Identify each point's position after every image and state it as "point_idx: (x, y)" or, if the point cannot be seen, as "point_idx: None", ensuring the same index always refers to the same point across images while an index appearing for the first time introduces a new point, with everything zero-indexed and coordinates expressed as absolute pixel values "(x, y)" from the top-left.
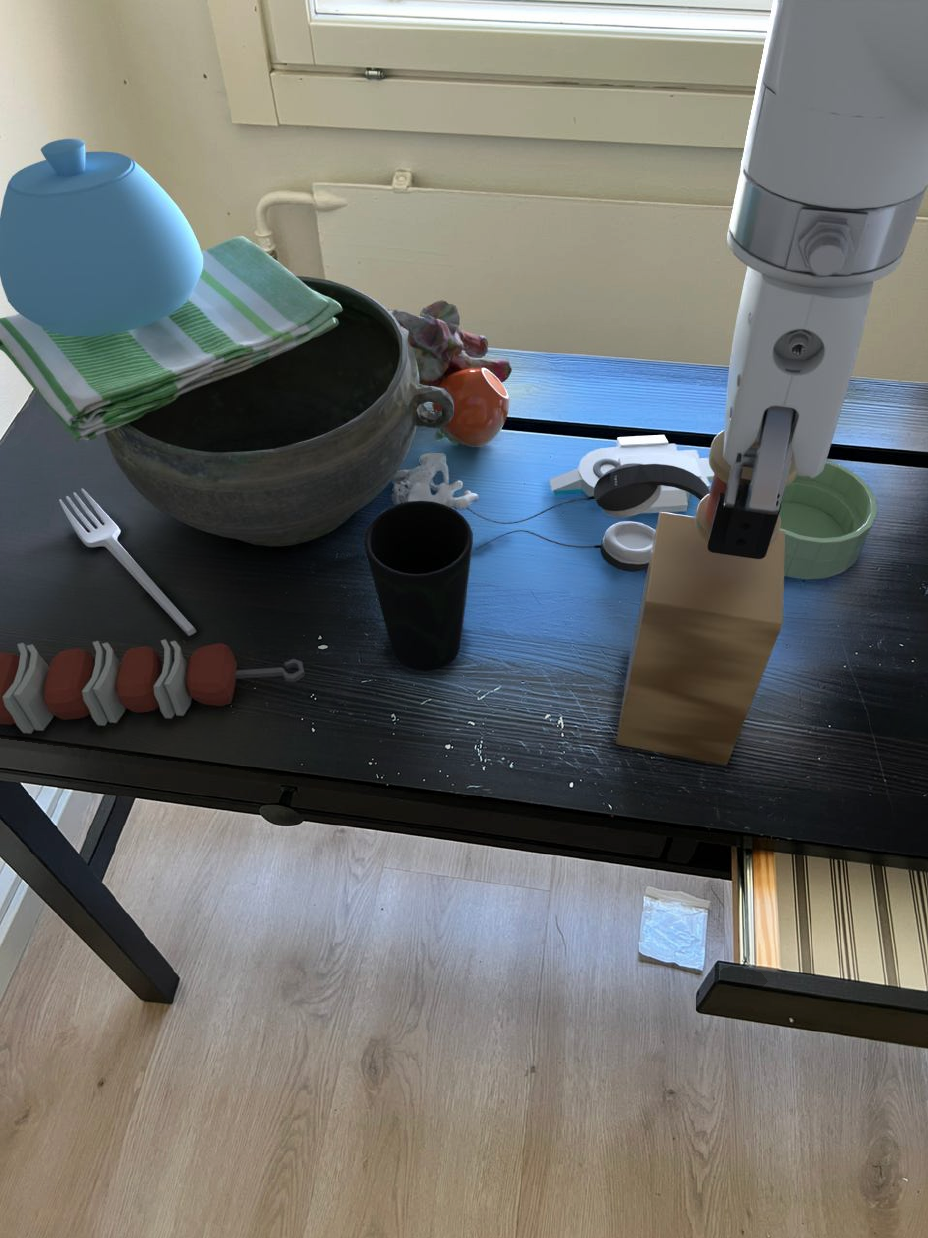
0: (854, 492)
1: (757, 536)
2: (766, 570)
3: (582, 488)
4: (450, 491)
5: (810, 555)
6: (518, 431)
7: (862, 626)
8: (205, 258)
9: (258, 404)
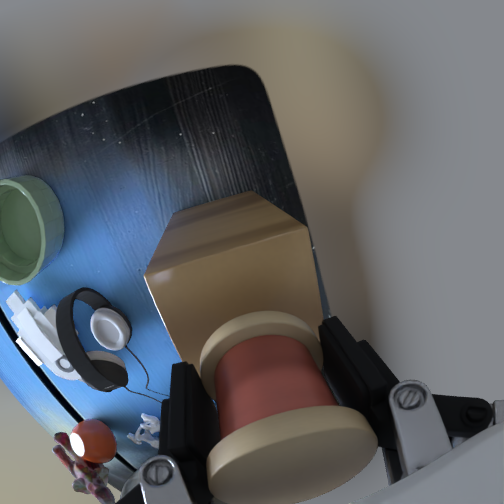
0: None
1: (380, 359)
2: (227, 273)
3: None
4: (151, 427)
5: (47, 208)
6: (73, 407)
7: (77, 145)
8: None
9: None
